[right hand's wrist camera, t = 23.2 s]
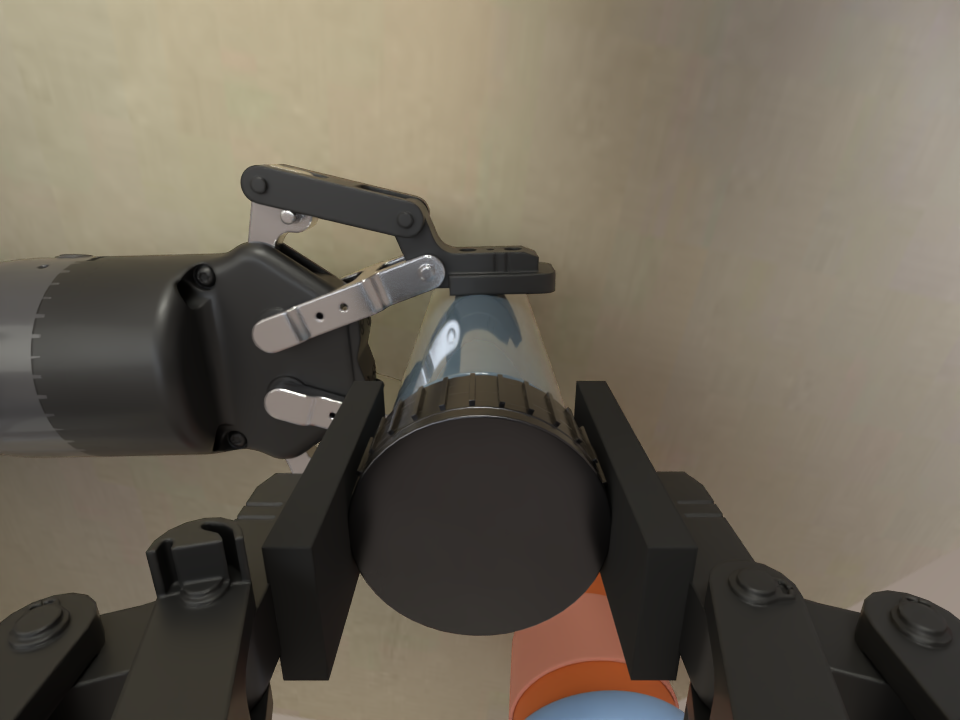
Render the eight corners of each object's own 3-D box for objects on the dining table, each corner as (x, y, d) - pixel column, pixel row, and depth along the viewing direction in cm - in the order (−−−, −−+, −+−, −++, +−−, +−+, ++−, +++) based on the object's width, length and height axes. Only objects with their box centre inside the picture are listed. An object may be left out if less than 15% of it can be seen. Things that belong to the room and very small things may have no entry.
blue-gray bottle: (521, 358, 27) (572, 607, 12) (426, 348, 27) (360, 589, 12) (535, 264, 26) (613, 418, 11) (434, 253, 26) (369, 393, 10)
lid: (582, 577, 13) (598, 645, 12) (365, 568, 13) (346, 634, 11) (611, 377, 12) (636, 419, 10) (360, 364, 11) (337, 404, 10)
